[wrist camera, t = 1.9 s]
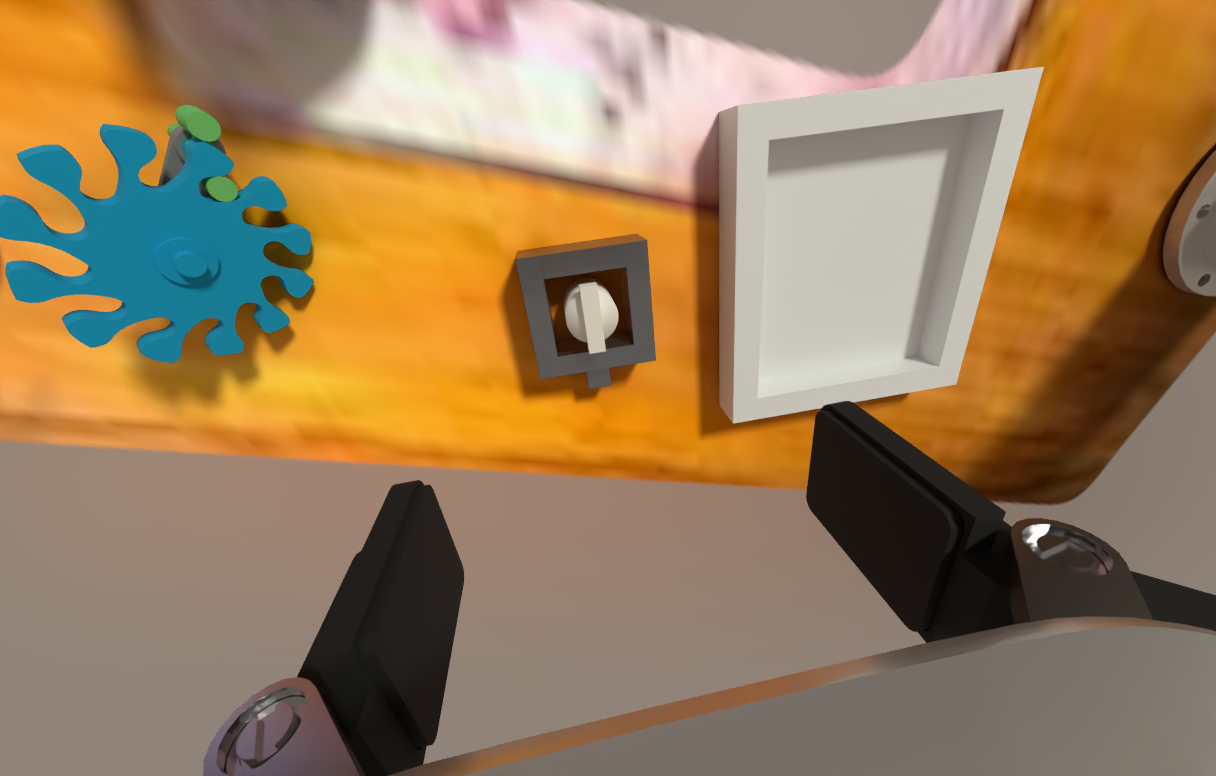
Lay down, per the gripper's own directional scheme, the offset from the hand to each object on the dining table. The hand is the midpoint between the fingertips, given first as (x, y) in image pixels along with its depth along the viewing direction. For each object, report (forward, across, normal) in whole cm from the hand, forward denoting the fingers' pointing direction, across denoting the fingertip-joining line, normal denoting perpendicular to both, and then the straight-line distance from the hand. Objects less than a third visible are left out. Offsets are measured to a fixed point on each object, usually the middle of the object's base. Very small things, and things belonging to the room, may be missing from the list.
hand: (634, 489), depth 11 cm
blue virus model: (+18, +16, -6) cm, 25 cm away
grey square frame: (+17, -1, 0) cm, 17 cm away
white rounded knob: (+17, -1, 0) cm, 17 cm away
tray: (+17, -17, 0) cm, 24 cm away
